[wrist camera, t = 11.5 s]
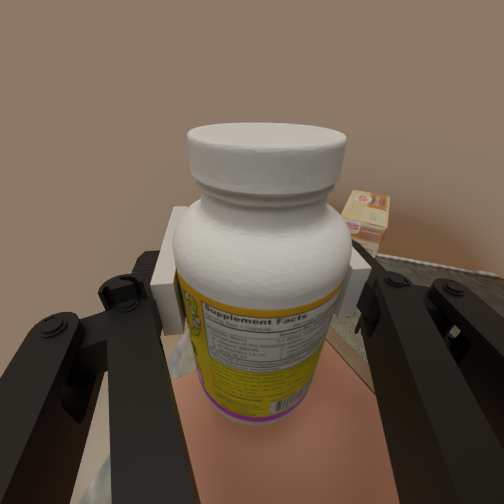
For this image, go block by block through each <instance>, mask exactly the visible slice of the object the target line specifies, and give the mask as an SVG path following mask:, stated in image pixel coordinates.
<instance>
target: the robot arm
mask: <svg viewBox="0 0 504 504" xmlns="http://www.w3.org/2000/svg"><path fill="white" fill-rule="evenodd" d="M187 208H188V207H187V206H180V207H173V211H172V214H171V217H170V221H169V224H168V227H167V230H166V234H165V237H164V240H163V244H162V247H161V250H160V251H145V252H144V253H143V254H142V255H141V256H140V257H138V259H137V261H136V263H135V267H134V268H133V271H132V273H131V274H124V275H119V276H116V277H113V278H111V279H109V280H108V281H106V282H105V283H104V284H103V285H102V286H101V287H100V288H99V291H98V295H99V297H100V299H101V301H102V303H103V306H104V308H105V311H103V312H101V313H98V314H95V315H92V316H89V317H86V318H82V319H79V318H78V316H77V315H76V314H75V313H72V312H61V313H57V314H53V315H51V316H49V317H47V318H45V319H43V320H41V321H40V322H39V323H37V324H36V325H35V326H34V327H33V328H32V329H31V330H30V331H29V333H28V334H27V336H26V338H25V339H24V341H23V342H22V344H21V346H20V347H19V349H18V351H17V352H16V354H15V355H14V357H13V359H12V360H11V362H10V363H9V365H8V367H7V369H6V370H5V371H4V373H3V375H2V376H1V378H0V504H70V500H71V496H72V493H73V488H74V485H75V482H76V478H77V474H78V470H79V466H80V463H81V459H82V455H83V451H84V448H85V444H86V440H87V436H88V433H89V429H90V425H91V421H92V417H93V414H94V410H95V406H96V403H97V399H98V395H99V391H100V387H101V384H102V380H103V376H104V372H106V371H108V387H109V388H108V391H109V425H110V459H111V493H112V504H201V502H200V498H199V494H198V490H197V485H196V481H195V477H194V473H193V469H192V465H191V461H190V457H189V452H188V448H187V444H186V440H185V436H184V432H183V428H182V424H181V419H180V415H179V411H178V407H177V403H176V399H175V395H174V391H173V387H172V382H171V378H170V374H169V370H168V366H167V362H166V358H165V354H164V350H163V345H162V342H161V339H160V336H161V331H162V329H163V332H164V335H165V336H166V335H176V334H184V327H185V317H186V313H185V308H184V304H183V299H182V294H181V289H180V284H179V280H178V275H177V271H176V266H175V260H174V254H173V248H172V240H173V233H174V230H175V227H176V224H177V222H178V220H179V218H180V217H181V216H182V214H183V213H184V212H185V211H186V210H187ZM351 240H352V254H351V259H350V263H349V266H348V269H347V273H346V276H345V279H344V282H343V285H342V288H341V291H340V294H339V297H338V300H337V303H336V306H335V310H334V313H335V314H336V316H337V318H338V317H348V316H353V315H354V313H355V310H356V307H358V309H359V310H360V312H361V316H360V318H359V321H358V323H357V325H356V328H355V334H357V333H358V331H359V329H360V328H361V335H362V337H363V341H364V346H365V350H366V355H367V359H368V363H369V368H370V372H371V377H372V381H373V386H374V390H375V395H376V399H377V404H378V408H379V413H380V417H381V422H382V426H383V431H384V435H385V440H386V444H387V449H388V453H389V458H390V462H391V467H392V471H393V476H394V480H395V485H396V489H397V493H398V498H399V502H400V504H504V318H502V317H501V316H500V315H499V314H498V313H497V312H496V311H494V310H493V309H492V308H491V307H490V306H489V305H487V304H486V303H485V302H484V301H483V300H482V299H480V298H479V297H478V296H477V295H476V294H475V293H474V292H472V291H471V290H470V289H469V288H467V287H466V286H464V285H463V284H461V283H458V282H457V281H454V280H451V279H444V278H440V279H436V280H435V281H434V282H433V283H432V285H431V287H425V286H418V285H413V284H412V282H411V281H410V280H409V279H408V278H406V277H405V276H403V275H401V274H398V273H395V272H391V271H386V270H385V269H384V268H383V267H382V266H381V265H380V264H379V263H378V262H377V261H376V260H375V259H374V258H373V257H372V256H370V253H369V252H368V251H366V249H365V248H364V247H363V246H362V245H361V244H360V243H358V242H356V241H354V240H353V239H351ZM454 325H456V326H457V327H458V328H459V330H460V331H461V332H460V333H459V334H458V336H457V337H454V336H452V335H451V334H450V332H449V331H450V330H451V329H452V328H453V326H454Z"/></svg>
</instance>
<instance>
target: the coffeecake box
mask: <svg viewBox="0 0 504 504" xmlns="http://www.w3.org/2000/svg"><path fill="white" fill-rule="evenodd" d="M389 204H390V197H389V196H385V195H380V194H375V193H368V192H363V191H358V190H353V191H352V193H351V195H350V197H349V199H348V201H347V203H346V206H345V208H344V209H343V211H342V214H341V217H342V218H343V220H344V221H345V223H346V225H347V227H348V229H349V232H350V235H351V239H353V240H354V241H356V242H358V243H360V244H361V245H362V246H363V247H364V248H365V249H366V251H368V252H369V253H370V256H372V257H373V258H374V259H375V256H376V254H377V251H378V249H379V246H380V244H381V241H382V239H383V237H384V234H385V231H386V229H387V226H388V216H389ZM348 317H349V318H352V316H348Z"/></svg>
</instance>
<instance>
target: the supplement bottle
mask: <svg viewBox="0 0 504 504" xmlns="http://www.w3.org/2000/svg"><path fill="white" fill-rule="evenodd" d="M187 141H188V150H189V160H190V172H191V175H192V176H193V178H194V179H196V184H197V186H198V187H199V188H200V190H201V199H199V200H197V201H196V202H195V203H193V204H192V205H191V206H190V207H188V208H187V210H186V211H185V212H184V213H183V214H182V216H181V217H180V218H179V220H178V222H177V224H176V227H175V230H174V233H173V240H172V248H173V254H174V260H175V266H176V271H177V275H178V280H179V284H180V289H181V294H182V299H183V304H184V308H185V313H186V318H187V323H188V328H189V333H190V338H191V343H192V348H193V353H194V358H195V363H196V367H197V372H198V376H199V380H200V384H201V387H202V389H203V392H204V394H205V396H206V397H207V399H208V400H209V402H210V403H211V404H212V406H213V407H214V408H215V409H216V410H217V411H218V412H220V413H221V414H222V415H224V416H225V417H227V418H228V419H230V420H232V421H234V422H237V423H240V424H245V425H267V424H272V423H275V422H277V421H280V420H282V419H284V418H286V417H287V416H289V415H290V414H291V413H293V412H294V411H295V410H296V409H297V408H298V407H299V406H300V404H301V403H302V402H303V400H304V398H305V397H306V395H307V393H308V390H309V388H310V385H311V383H312V380H313V376H314V373H315V370H316V367H317V364H318V361H319V357H320V354H321V351H322V348H323V345H324V341H325V338H326V335H327V332H328V328H329V325H330V322H331V319H332V316H333V313H334V310H335V306H336V303H337V300H338V297H339V294H340V291H341V288H342V285H343V282H344V279H345V276H346V273H347V269H348V266H349V263H350V259H351V254H352V240H351V235H350V232H349V229H348V227H347V225H346V223H345V221H344V220H343V218H342V217H341V215H340V214H339V213H338V212H337V211H336V210H335V209H334V208H332V207H331V206H330V205H328V204H327V199H328V194H329V193H330V192H331V191H332V190H333V189H334V185H335V183H336V182H337V181H338V180H339V179H340V174H341V168H342V163H343V158H344V153H345V148H346V143H347V139H346V136H345V135H344V134H342V133H341V132H338V131H335V130H331V129H328V128H322V127H317V126H309V125H298V124H286V123H225V124H215V125H207V126H202V127H198V128H194V129H192V130H190V131H189V132H188V134H187Z"/></svg>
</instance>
